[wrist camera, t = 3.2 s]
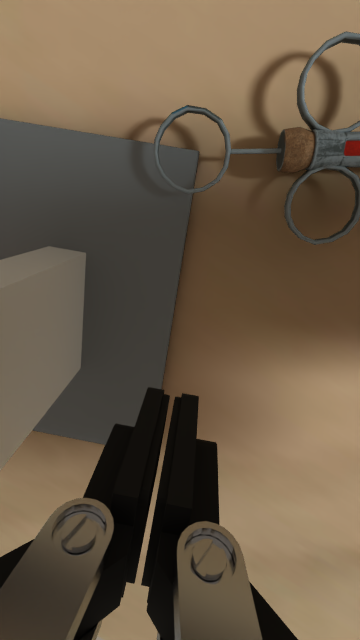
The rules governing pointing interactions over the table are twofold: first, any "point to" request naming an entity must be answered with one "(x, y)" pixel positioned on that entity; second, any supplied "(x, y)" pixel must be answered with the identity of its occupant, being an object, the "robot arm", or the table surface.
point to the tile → (37, 337)
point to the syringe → (294, 147)
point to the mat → (102, 257)
